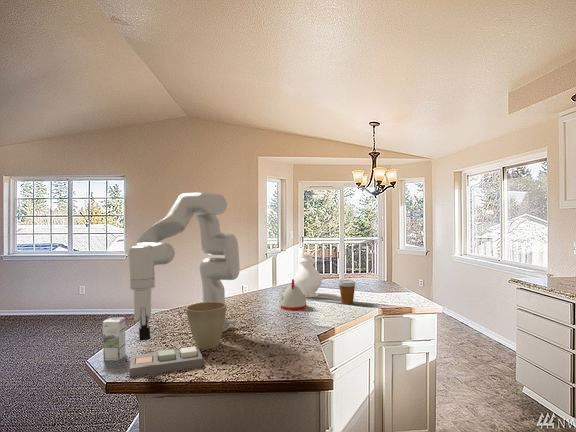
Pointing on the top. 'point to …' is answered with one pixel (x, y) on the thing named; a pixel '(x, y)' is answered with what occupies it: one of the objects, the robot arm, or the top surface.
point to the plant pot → (206, 323)
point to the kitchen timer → (293, 298)
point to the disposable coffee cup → (347, 291)
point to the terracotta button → (143, 360)
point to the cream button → (188, 352)
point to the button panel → (164, 363)
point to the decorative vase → (308, 277)
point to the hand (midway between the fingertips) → (144, 339)
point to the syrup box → (114, 338)
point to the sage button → (166, 355)
